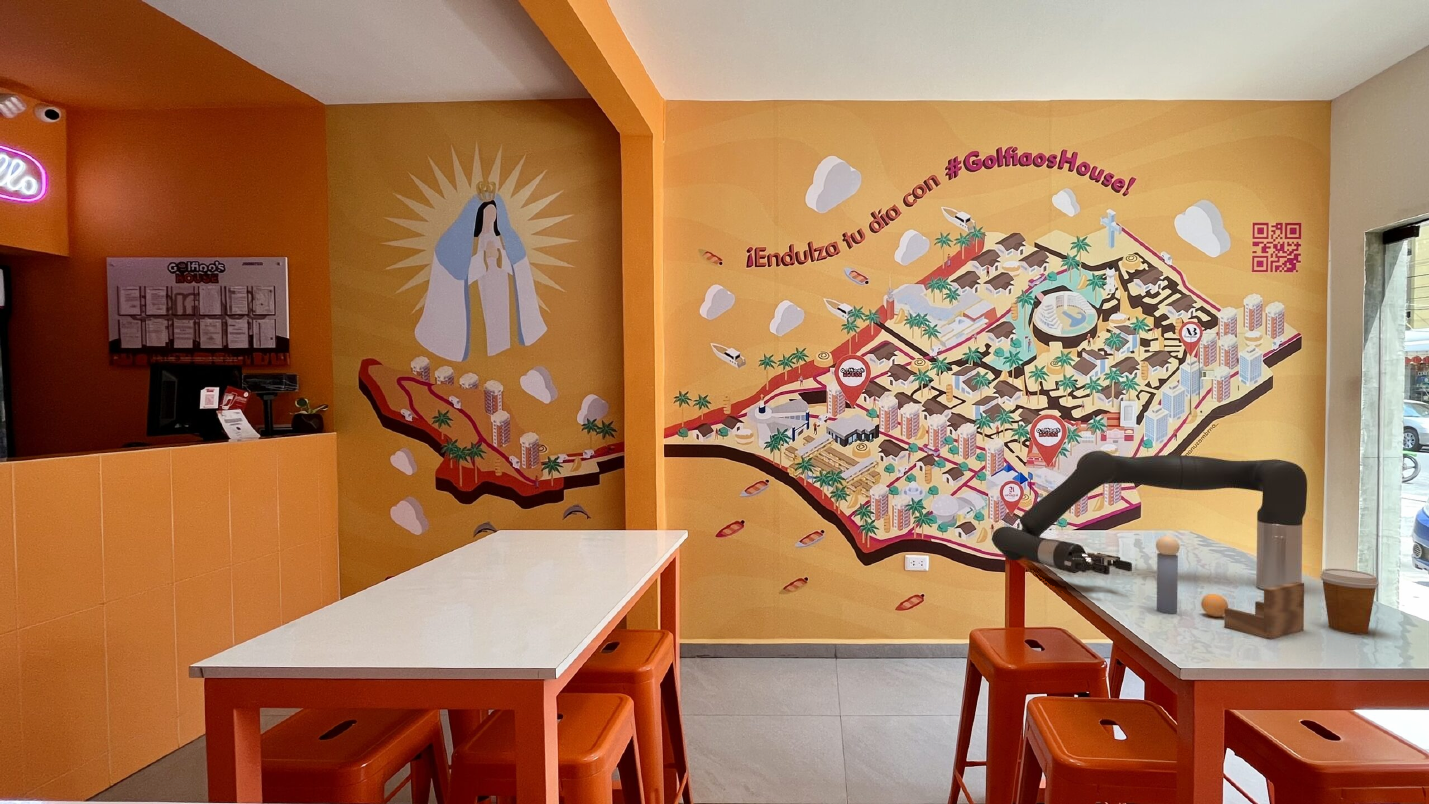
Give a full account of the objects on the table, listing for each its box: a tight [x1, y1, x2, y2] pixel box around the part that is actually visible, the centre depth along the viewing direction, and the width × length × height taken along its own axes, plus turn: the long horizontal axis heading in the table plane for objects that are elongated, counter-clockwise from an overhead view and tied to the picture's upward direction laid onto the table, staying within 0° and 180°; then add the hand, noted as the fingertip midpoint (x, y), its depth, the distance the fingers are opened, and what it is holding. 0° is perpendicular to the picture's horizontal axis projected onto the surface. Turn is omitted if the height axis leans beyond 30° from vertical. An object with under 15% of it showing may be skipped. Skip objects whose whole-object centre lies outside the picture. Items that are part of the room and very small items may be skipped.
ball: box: [1200, 593, 1229, 618], centre depth 163 cm, size 5×5×5 cm
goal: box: [1223, 582, 1305, 640], centre depth 155 cm, size 13×9×10 cm, turn 117°
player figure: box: [1155, 535, 1180, 615], centre depth 167 cm, size 5×5×17 cm
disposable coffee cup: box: [1319, 567, 1380, 635], centre depth 155 cm, size 10×10×12 cm
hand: (1120, 568), depth 177 cm, fingers open, 8 cm apart
